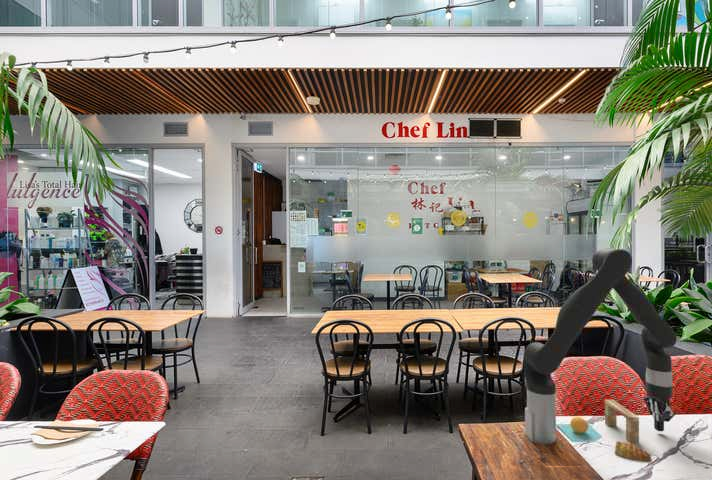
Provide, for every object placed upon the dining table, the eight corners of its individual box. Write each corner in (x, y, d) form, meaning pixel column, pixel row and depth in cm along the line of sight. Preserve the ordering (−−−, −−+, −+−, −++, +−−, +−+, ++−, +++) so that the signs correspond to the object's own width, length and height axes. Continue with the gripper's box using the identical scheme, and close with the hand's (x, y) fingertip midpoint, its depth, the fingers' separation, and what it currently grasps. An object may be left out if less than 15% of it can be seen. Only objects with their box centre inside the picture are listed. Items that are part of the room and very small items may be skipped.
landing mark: (571, 441, 134) (571, 440, 134) (556, 424, 146) (556, 424, 146) (607, 442, 134) (607, 441, 134) (589, 425, 146) (589, 424, 146)
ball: (576, 419, 137) (592, 423, 137) (569, 412, 143) (584, 415, 143) (573, 434, 137) (589, 438, 137) (566, 427, 143) (581, 430, 143)
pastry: (651, 457, 124) (650, 445, 124) (650, 467, 119) (649, 454, 119) (616, 448, 130) (615, 437, 130) (613, 457, 125) (613, 445, 125)
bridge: (629, 444, 132) (629, 417, 132) (605, 423, 146) (604, 399, 146) (639, 444, 132) (638, 417, 132) (613, 424, 146) (613, 399, 146)
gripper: (635, 374, 145) (635, 421, 145) (661, 388, 132) (661, 439, 132) (656, 375, 145) (656, 421, 145) (684, 389, 131) (684, 440, 131)
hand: (659, 430), depth 138 cm, fingers closed
